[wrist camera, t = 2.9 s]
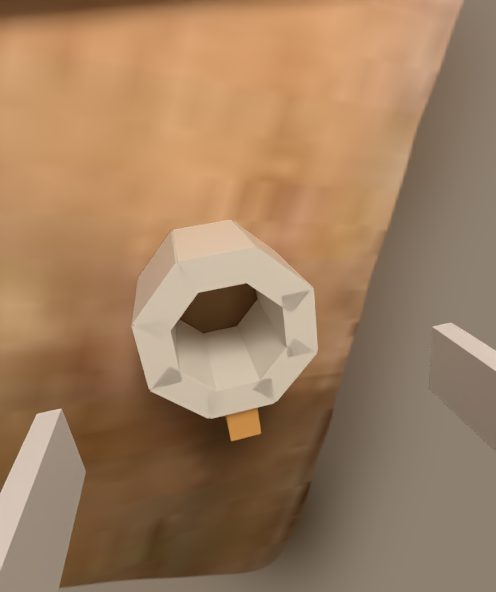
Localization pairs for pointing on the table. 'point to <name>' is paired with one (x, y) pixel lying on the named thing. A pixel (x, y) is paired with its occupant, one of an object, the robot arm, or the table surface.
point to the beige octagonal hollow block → (230, 341)
